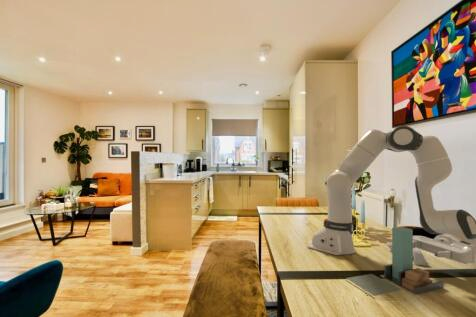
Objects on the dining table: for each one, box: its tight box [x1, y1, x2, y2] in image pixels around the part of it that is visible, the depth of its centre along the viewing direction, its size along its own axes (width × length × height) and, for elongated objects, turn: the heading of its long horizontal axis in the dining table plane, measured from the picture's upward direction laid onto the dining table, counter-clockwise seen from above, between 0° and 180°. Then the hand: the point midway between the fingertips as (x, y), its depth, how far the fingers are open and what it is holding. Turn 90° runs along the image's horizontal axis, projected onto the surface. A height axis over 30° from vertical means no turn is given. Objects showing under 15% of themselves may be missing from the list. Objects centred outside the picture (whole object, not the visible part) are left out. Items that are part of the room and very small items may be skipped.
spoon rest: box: [386, 241, 428, 267], centre depth 111 cm, size 24×12×7 cm, turn 169°
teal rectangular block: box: [391, 226, 414, 280], centre depth 88 cm, size 5×4×18 cm
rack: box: [379, 263, 445, 295], centre depth 86 cm, size 13×14×5 cm
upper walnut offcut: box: [405, 267, 430, 284], centre depth 82 cm, size 7×4×2 cm, turn 114°
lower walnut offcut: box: [402, 278, 434, 291], centre depth 82 cm, size 9×4×2 cm, turn 108°
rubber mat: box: [345, 273, 403, 300], centre depth 84 cm, size 12×12×1 cm
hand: (422, 249), depth 90 cm, fingers open, 8 cm apart
